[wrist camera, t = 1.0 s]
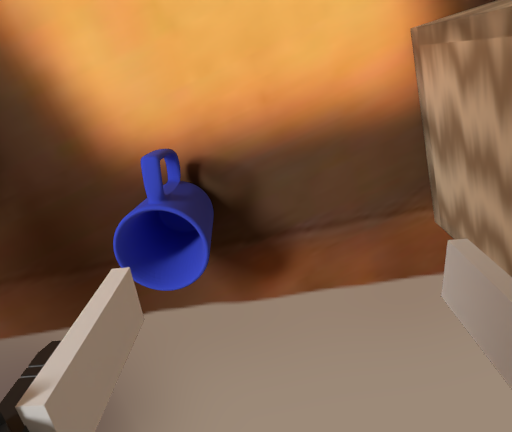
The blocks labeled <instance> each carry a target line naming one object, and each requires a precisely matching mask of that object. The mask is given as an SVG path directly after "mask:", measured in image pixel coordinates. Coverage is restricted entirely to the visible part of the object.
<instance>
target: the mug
mask: <svg viewBox="0 0 512 432" xmlns="http://www.w3.org/2000/svg"><path fill="white" fill-rule="evenodd" d="M162 158H164V159H165V162H166V166H167V172H168V182H167V183H166V184H165V185H163V184H162V177H161V169H160V160H161V159H162ZM141 168H142V175H143V180H144V186H145V190H146V194H147V198H146V199H145V200H144V201H143V202H142V203H140V204H139V205H138V206H137V207H136V208H135V209H133V210H132V211H131V212H130V213H129V214H127V215H126V216H125V217H124V218H123V219H122V220H121V222H120V223H119V225H118V227H117V228H116V231H115V234H114V239H113V248H114V253H115V257H116V259H117V261H118V263H119V265H120V267H121V268H127V267H130V270H131V274H132V277H133V280H134V281H136V282H137V283H139V284H141V285H143V286H145V287H148V288H151V289H155V290H163V291H170V290H177V289H181V288H184V287H186V286H188V285H190V284H192V283H193V282H195V281H196V280H197V279H198V278H199V277H200V276H201V275H202V274H203V272H204V271H205V269H206V267H207V264H208V261H209V255H210V246H211V237H212V227H213V217H214V211H213V206H212V203H211V201H210V199H209V197H208V195H207V194H206V193H205V192H204V191H203V190H202V189H201V188H199V187H198V186H196V185H194V184H192V183H189V182H182V181H180V165H179V160H178V156H177V154H176V153H175V151H173V150H171V149H160V150H155V151H153V152H150V153H149V154H147V155H145V156H143V157H142V158H141Z"/></svg>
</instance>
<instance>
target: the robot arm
mask: <svg viewBox="0 0 512 432" xmlns="http://www.w3.org/2000/svg"><path fill="white" fill-rule="evenodd" d="M441 297H442V298H443V300H444V301H445V302H446V304H447V305H448V306H449V307H450V309H451V310H452V312H453V313H454V314H455V315H456V317H457V318H458V319H459V321H460V322H461V323H462V325H463V326H464V327H465V329H466V330H467V331H468V333H469V334H470V335H471V337H472V338H473V339H474V340H475V342H476V343H477V344H478V346H479V347H480V348H481V349H482V351H483V352H484V354H485V355H486V356H487V357H488V359H489V360H490V362H491V363H492V364H493V365H494V367H495V368H496V369H497V370H498V372H499V373H500V375H501V376H502V377H503V379H504V380H505V381H506V382H507V384H508V385H509V386H510V388H511V389H512V277H511V276H510V275H509V274H508V273H506V272H505V271H504V270H503V269H502V268H501V267H499V266H498V265H497V264H496V263H495V262H494V261H493V260H491V259H490V258H489V257H488V256H487V255H486V254H485V253H483V252H482V251H481V250H480V249H479V248H478V247H477V246H475V245H474V244H473V243H472V242H471V241H470V240H468V239H456V240H448V244H447V252H446V260H445V269H444V277H443V286H442V294H441ZM143 322H144V317H143V313H142V310H141V306H140V302H139V299H138V295H137V292H136V288H135V284H134V281H133V277H132V274H131V270H130V267H127V268H115V269H111V271H110V272H109V274H108V275H107V277H106V278H105V279H104V281H103V282H102V284H101V285H100V287H99V288H98V289H97V291H96V292H95V294H94V295H93V297H92V298H91V299H90V301H89V302H88V304H87V305H86V307H85V308H84V309H83V311H82V312H81V314H80V315H79V316H78V318H77V319H76V321H75V322H74V324H73V325H72V326H71V328H70V329H69V331H68V332H67V334H66V335H65V336H64V338H63V339H62V341H52V342H51V343H49V344H48V345H47V346H46V347H45V348H43V349H42V350H41V351H40V352H38V354H37V355H36V356H35V358H34V359H33V360H32V362H31V363H30V364H29V367H28V368H26V370H25V371H24V372H23V374H22V375H21V378H20V379H18V380H17V382H16V383H15V384H14V386H13V387H12V388H11V389H10V391H9V392H8V394H7V395H6V396H5V397H4V399H3V400H2V402H1V403H0V432H95V430H96V428H97V426H98V424H99V421H100V419H101V417H102V415H103V412H104V410H105V407H106V405H107V403H108V401H109V399H110V396H111V394H112V392H113V390H114V387H115V385H116V383H117V380H118V378H119V376H120V373H121V371H122V369H123V367H124V365H125V362H126V360H127V358H128V355H129V353H130V351H131V349H132V346H133V344H134V342H135V339H136V337H137V335H138V333H139V331H140V328H141V326H142V324H143Z"/></svg>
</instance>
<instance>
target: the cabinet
mask: <svg viewBox="0 0 512 432" xmlns="http://www.w3.org/2000/svg"><path fill="white" fill-rule="evenodd" d="M411 37H412V45H413V53H414V60H415V68H416V76H417V84H418V92H419V100H420V108H421V115H422V123H423V131H424V139H425V147H426V155H427V162H428V170H429V178H430V186H431V194H432V202H433V209H434V217H435V222H436V223H437V224H438V225H439V226H440V227H442V228H443V229H444V230H445V231H446V232H447V233H448V234H449V235H450V236H451V237H452V238H453V239H455V240H456V239H468V240H470V241H471V242H472V243H473V244H474V245H475V246H477V247H478V248H479V249H480V250H481V251H482V252H483V253H485V254H486V255H487V256H488V257H489V258H490V259H491V260H493V261H494V262H495V263H496V264H497V265H498V266H499V267H501V268H502V269H503V270H504V271H505V272H506V273H508V274H509V275H510V276H511V277H512V0H496V1H493V2H490V3H487V4H484V5H481V6H478V7H475V8H472V9H469V10H466V11H463V12H460V13H456V14H453V15H450V16H447V17H444V18H441V19H438V20H435V21H432V22H429V23H426V24H423V25H420V26H417V27H414V28H411Z"/></svg>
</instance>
